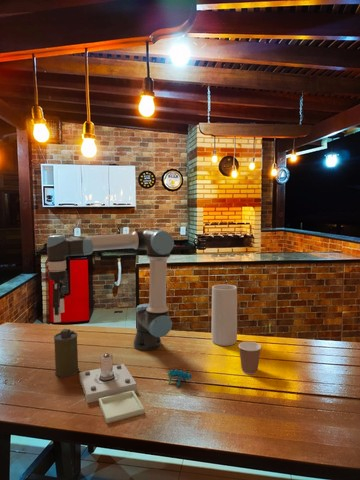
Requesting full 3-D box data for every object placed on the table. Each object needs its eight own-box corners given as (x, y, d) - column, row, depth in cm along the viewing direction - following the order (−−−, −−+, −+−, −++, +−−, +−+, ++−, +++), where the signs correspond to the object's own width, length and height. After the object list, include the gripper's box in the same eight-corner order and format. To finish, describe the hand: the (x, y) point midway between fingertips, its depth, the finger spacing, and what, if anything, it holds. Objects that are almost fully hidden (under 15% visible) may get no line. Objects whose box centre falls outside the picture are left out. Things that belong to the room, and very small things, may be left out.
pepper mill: (112, 381, 150) (111, 350, 149) (115, 387, 145) (115, 356, 143) (98, 383, 148) (97, 353, 146) (101, 390, 142) (100, 358, 141)
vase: (238, 346, 186) (239, 289, 183) (212, 346, 187) (212, 290, 184) (234, 336, 201) (235, 284, 198) (210, 336, 201) (210, 284, 198)
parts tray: (133, 395, 139) (133, 390, 138) (144, 413, 126) (144, 408, 126) (98, 403, 133) (98, 398, 133) (106, 423, 120) (106, 418, 120)
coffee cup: (262, 368, 161) (263, 343, 160) (258, 377, 152) (258, 351, 151) (241, 364, 165) (241, 340, 164) (235, 373, 156) (235, 348, 155)
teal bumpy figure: (195, 377, 149) (187, 368, 143) (193, 391, 146) (184, 382, 139) (173, 375, 154) (163, 367, 147) (170, 389, 150) (160, 381, 144)
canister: (71, 378, 153) (69, 334, 151) (50, 375, 155) (48, 333, 153) (83, 367, 164) (81, 326, 162) (63, 365, 166) (61, 325, 164)
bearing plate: (123, 370, 159) (123, 362, 159) (136, 391, 141) (136, 381, 141) (79, 380, 151) (79, 370, 151) (87, 403, 133) (87, 392, 132)
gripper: (52, 266, 163) (54, 309, 164) (43, 276, 138) (45, 327, 140) (69, 265, 164) (70, 308, 166) (62, 275, 140) (65, 325, 142)
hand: (59, 317), depth 153 cm, fingers open, 13 cm apart
